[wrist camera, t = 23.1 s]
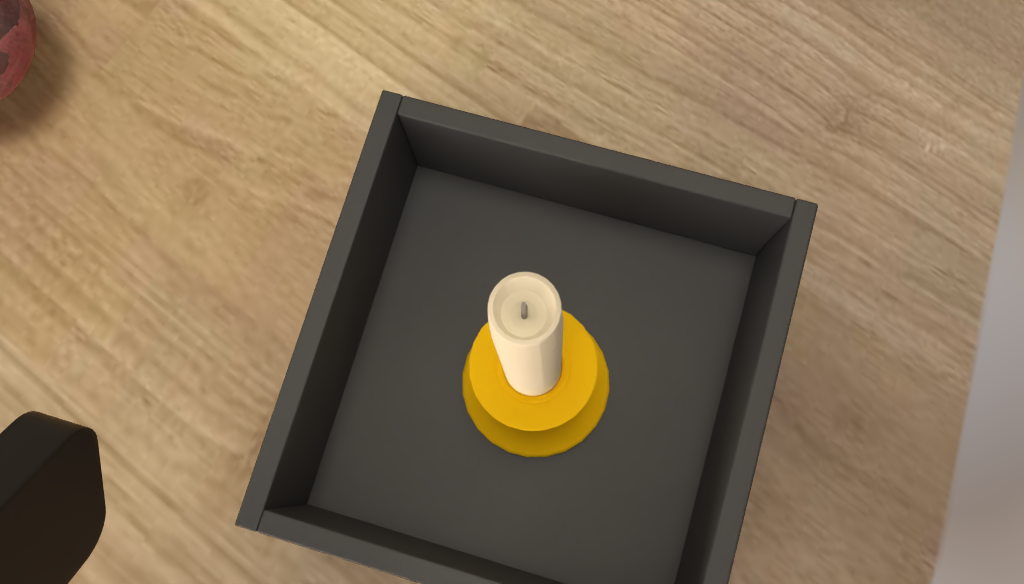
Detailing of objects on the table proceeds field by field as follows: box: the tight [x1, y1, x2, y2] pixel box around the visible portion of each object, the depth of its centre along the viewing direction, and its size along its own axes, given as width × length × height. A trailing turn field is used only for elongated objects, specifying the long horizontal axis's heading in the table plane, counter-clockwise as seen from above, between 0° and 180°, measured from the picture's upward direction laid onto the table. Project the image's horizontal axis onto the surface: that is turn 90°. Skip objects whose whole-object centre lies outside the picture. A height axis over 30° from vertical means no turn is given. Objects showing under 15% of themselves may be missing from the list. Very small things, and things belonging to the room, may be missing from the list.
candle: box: [463, 272, 609, 457], centre depth 25 cm, size 5×5×16 cm
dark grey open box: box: [235, 90, 818, 584], centre depth 30 cm, size 14×14×6 cm
